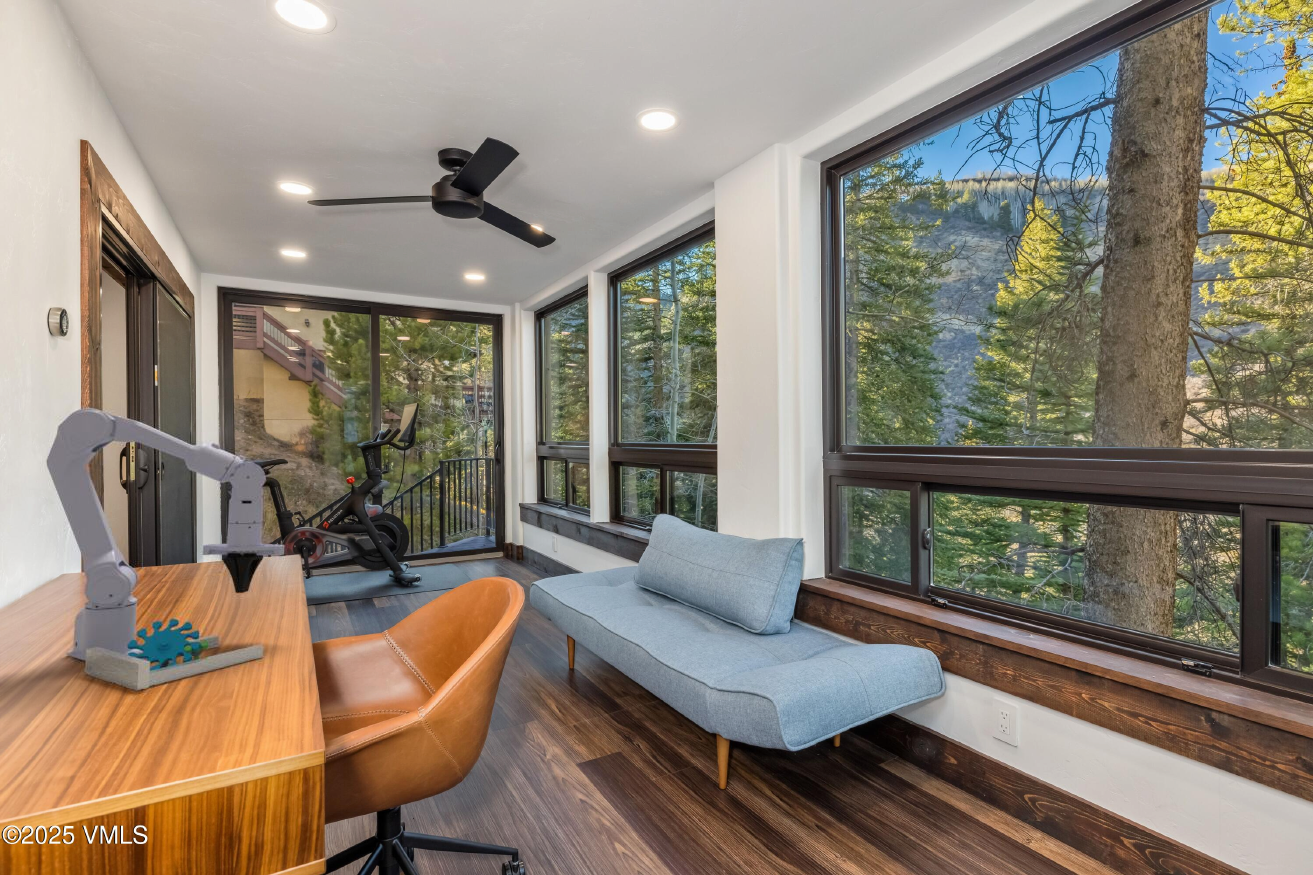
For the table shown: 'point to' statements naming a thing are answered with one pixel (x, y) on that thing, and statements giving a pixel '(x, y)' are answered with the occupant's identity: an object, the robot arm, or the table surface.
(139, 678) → the rail dock
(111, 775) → the table surface
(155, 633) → the gear
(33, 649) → the table surface
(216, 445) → the robot arm
